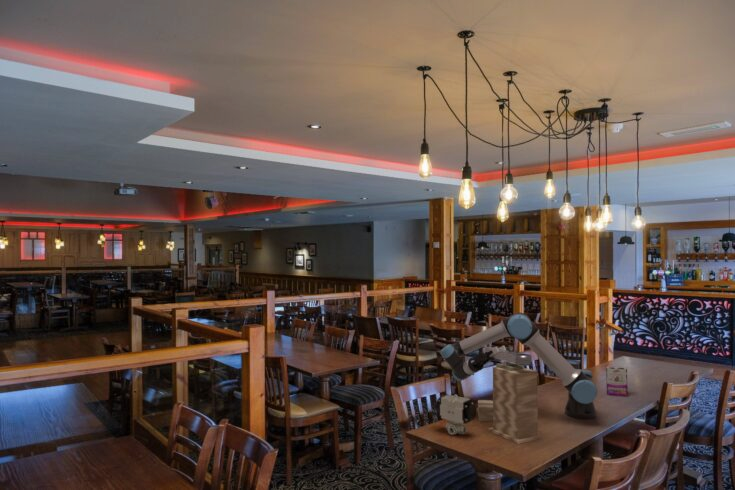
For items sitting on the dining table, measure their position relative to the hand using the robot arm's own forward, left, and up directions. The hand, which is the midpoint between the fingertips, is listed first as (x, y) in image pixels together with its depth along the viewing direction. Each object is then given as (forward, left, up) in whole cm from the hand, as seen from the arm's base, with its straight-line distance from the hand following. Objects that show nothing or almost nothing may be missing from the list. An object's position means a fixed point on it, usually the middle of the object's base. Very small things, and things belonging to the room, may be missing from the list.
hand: (501, 348), depth 241 cm
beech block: (+12, -13, -38) cm, 42 cm away
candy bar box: (-33, -96, -38) cm, 108 cm away
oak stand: (-8, +3, -38) cm, 39 cm away
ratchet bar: (-4, +2, -5) cm, 6 cm away
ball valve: (+15, +18, -38) cm, 45 cm away
